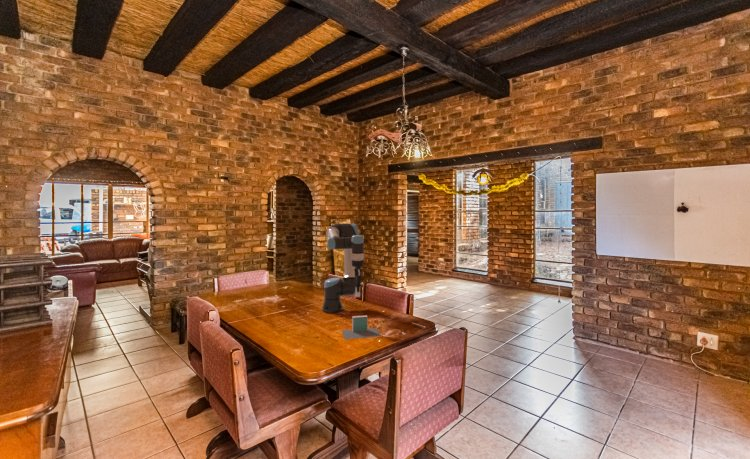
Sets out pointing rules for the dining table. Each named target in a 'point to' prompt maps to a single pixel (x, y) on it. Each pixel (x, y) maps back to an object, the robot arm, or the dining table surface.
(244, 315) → the dining table surface
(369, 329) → the mat
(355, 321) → the tile
